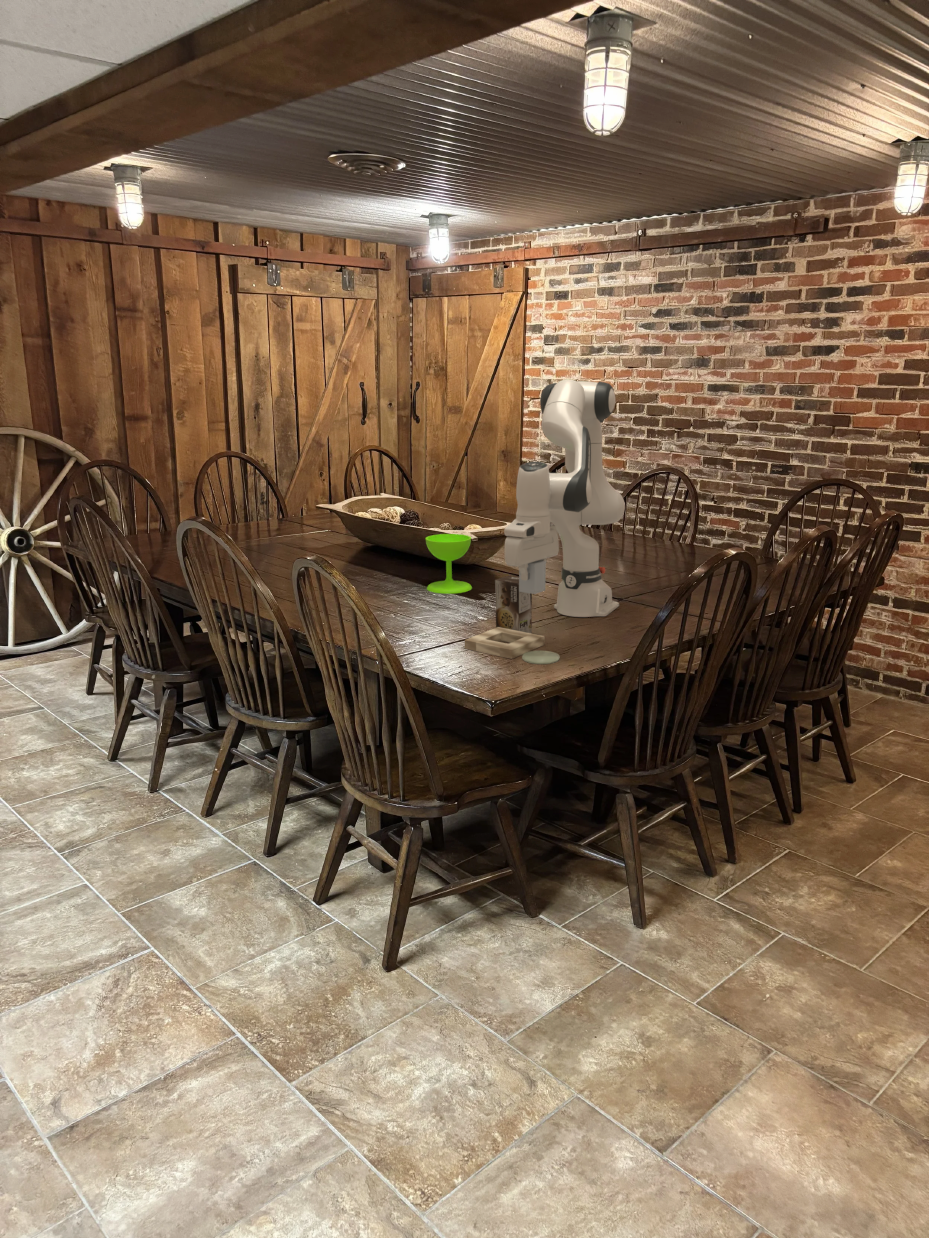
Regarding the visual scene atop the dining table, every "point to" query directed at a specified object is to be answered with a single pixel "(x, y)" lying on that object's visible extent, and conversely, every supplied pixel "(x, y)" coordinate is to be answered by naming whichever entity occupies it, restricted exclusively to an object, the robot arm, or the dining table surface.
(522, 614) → the coffee box
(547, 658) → the pad
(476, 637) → the pocket board
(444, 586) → the wineglass
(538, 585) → the block
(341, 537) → the dining table surface
